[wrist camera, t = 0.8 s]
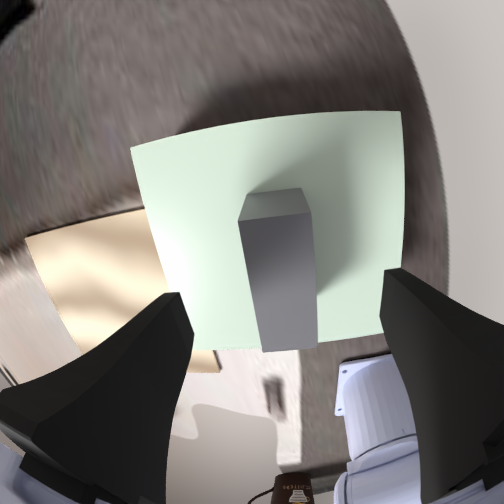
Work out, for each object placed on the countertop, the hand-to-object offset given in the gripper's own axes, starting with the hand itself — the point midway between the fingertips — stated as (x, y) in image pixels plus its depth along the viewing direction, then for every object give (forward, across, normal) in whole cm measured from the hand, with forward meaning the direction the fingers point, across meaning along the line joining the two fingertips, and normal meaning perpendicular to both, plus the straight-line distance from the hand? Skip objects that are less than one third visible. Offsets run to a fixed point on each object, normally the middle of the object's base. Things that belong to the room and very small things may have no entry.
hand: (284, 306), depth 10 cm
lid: (+7, 0, 0) cm, 7 cm away
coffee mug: (+9, +3, +48) cm, 49 cm away
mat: (+9, +15, +6) cm, 19 cm away
